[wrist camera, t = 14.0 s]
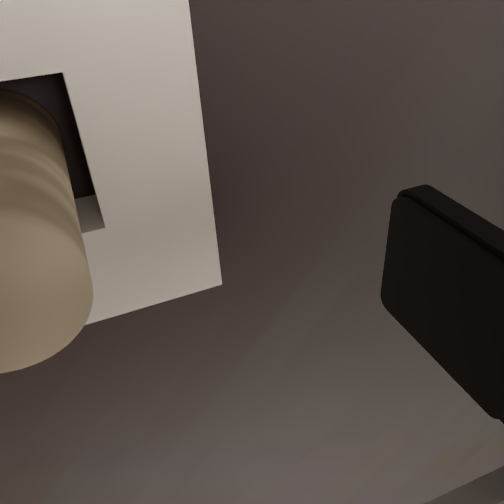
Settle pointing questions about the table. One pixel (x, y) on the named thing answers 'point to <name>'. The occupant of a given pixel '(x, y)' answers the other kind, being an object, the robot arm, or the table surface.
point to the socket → (128, 140)
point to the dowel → (37, 239)
